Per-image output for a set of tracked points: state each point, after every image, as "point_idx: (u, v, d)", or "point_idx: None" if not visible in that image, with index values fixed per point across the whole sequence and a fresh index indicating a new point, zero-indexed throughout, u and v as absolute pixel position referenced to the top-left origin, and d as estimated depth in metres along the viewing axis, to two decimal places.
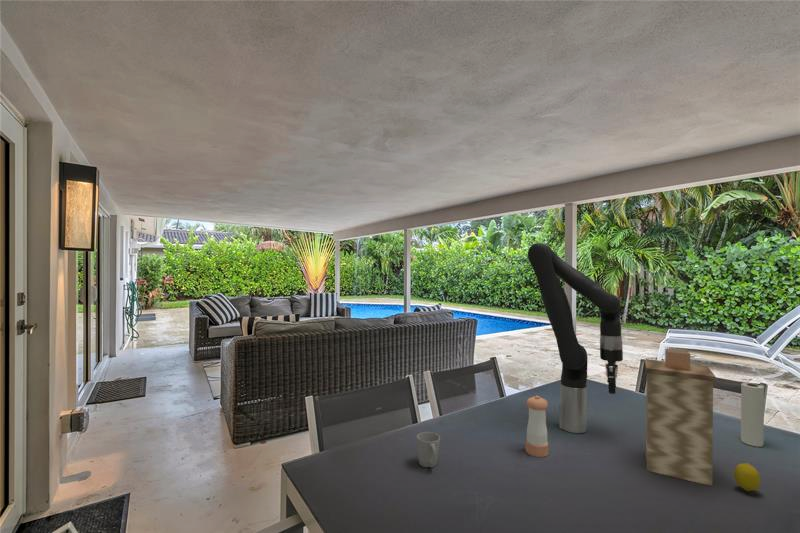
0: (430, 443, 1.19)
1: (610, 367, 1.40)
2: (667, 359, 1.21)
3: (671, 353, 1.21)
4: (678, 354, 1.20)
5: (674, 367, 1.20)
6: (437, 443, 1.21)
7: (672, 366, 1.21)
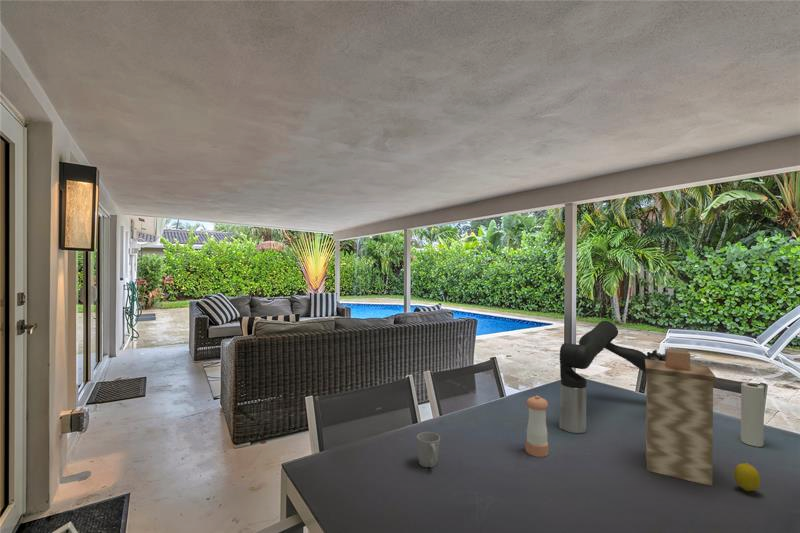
0: (430, 443, 1.19)
1: None
2: (667, 359, 1.21)
3: (671, 353, 1.21)
4: (678, 354, 1.20)
5: (674, 367, 1.20)
6: (437, 443, 1.21)
7: (672, 366, 1.21)
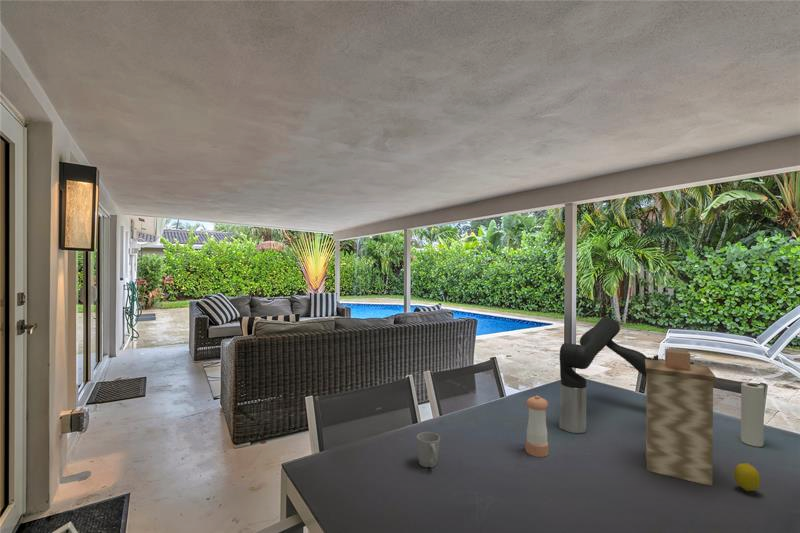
0: (430, 443, 1.19)
1: None
2: (667, 359, 1.21)
3: (671, 353, 1.21)
4: (678, 354, 1.20)
5: (674, 367, 1.20)
6: (437, 443, 1.21)
7: (672, 366, 1.21)
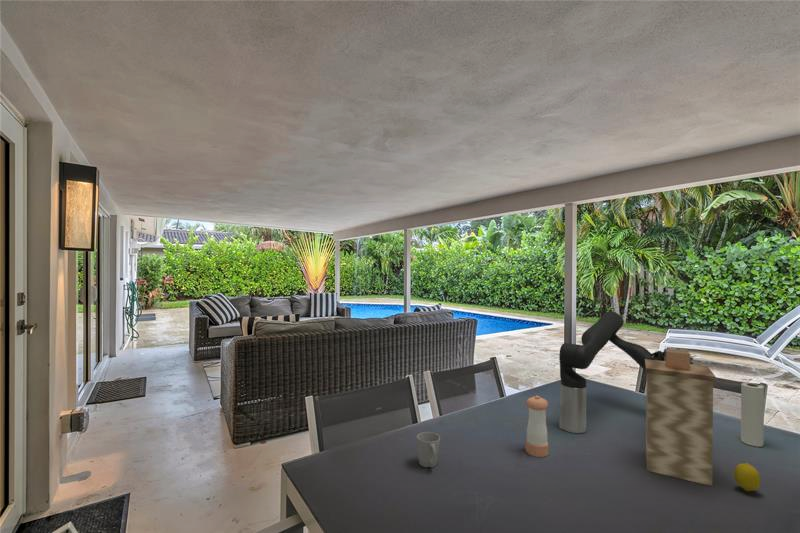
0: (430, 443, 1.19)
1: None
2: (667, 359, 1.21)
3: (671, 353, 1.21)
4: (678, 354, 1.20)
5: (674, 367, 1.20)
6: (437, 443, 1.21)
7: (672, 366, 1.21)
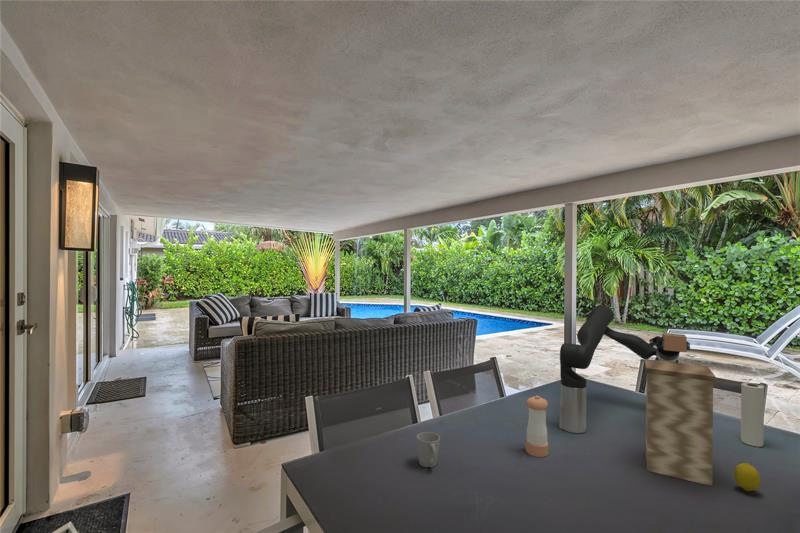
0: (430, 443, 1.19)
1: (689, 346, 1.46)
2: (665, 342, 1.30)
3: (669, 336, 1.29)
4: (675, 337, 1.28)
5: (671, 349, 1.29)
6: (437, 443, 1.21)
7: (669, 348, 1.29)
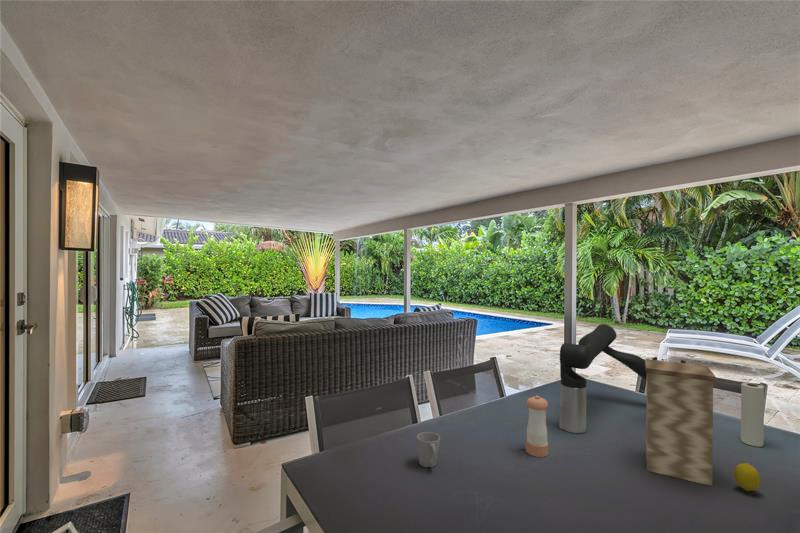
0: (430, 443, 1.19)
1: None
2: None
3: None
4: None
5: None
6: (437, 443, 1.21)
7: None
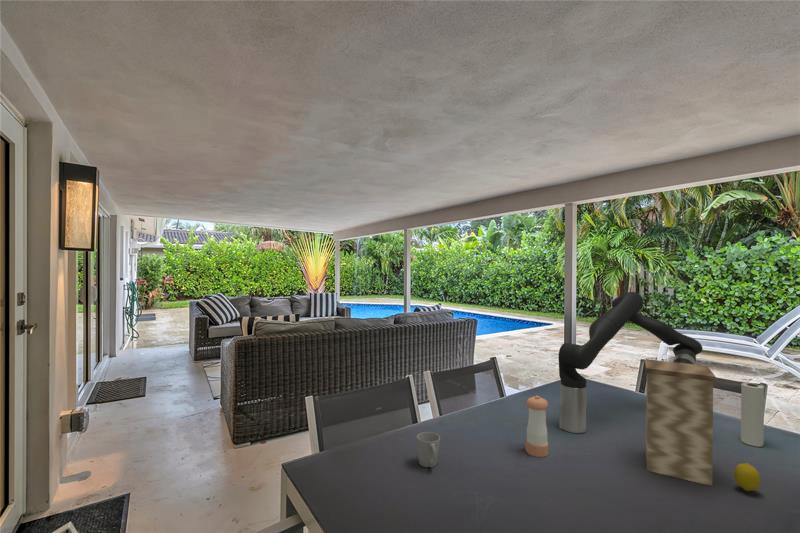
0: (430, 443, 1.19)
1: None
2: None
3: None
4: None
5: None
6: (437, 443, 1.21)
7: None
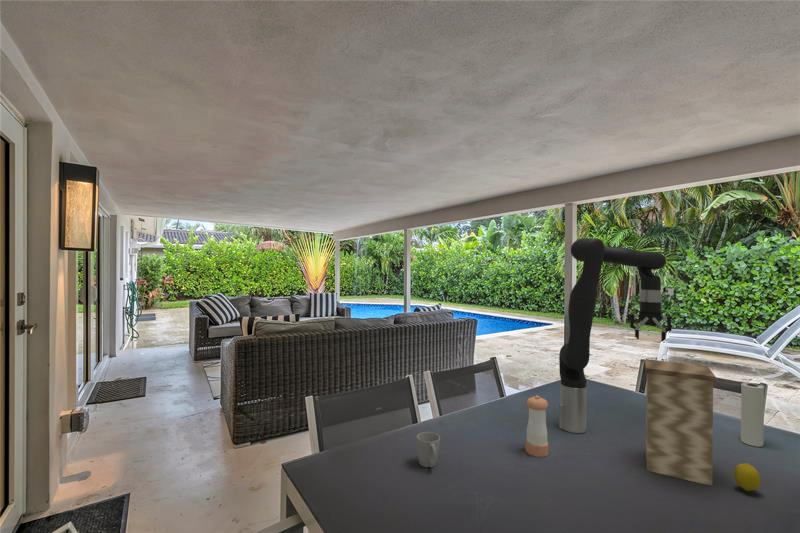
0: (430, 443, 1.19)
1: (670, 317, 1.55)
2: None
3: None
4: None
5: None
6: (437, 443, 1.21)
7: None
